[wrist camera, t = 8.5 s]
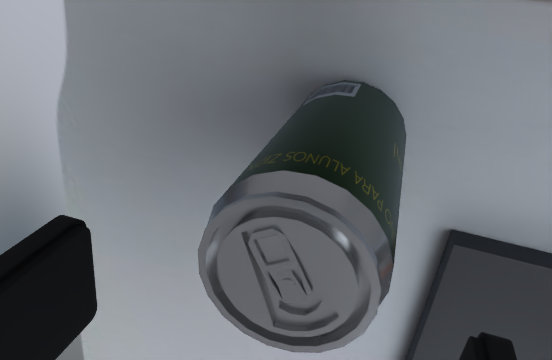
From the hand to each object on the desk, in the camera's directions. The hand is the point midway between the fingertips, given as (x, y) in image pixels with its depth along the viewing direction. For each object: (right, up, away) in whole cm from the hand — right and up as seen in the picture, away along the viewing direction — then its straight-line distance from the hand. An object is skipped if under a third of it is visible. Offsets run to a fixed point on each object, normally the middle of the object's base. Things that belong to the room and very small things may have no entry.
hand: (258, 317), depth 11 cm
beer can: (+4, +6, +11) cm, 13 cm away
